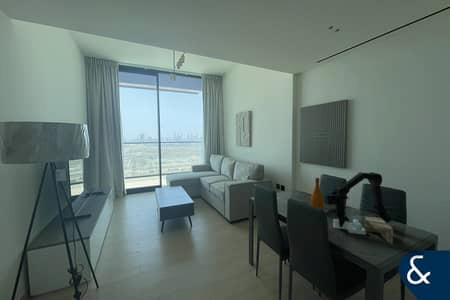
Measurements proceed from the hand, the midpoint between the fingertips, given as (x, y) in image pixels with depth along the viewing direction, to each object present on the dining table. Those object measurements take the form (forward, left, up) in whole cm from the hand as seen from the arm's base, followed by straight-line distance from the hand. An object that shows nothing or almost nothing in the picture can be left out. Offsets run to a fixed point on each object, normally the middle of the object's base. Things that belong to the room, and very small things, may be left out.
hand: (340, 225), depth 137 cm
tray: (0, +5, -2) cm, 5 cm away
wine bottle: (-29, -12, -2) cm, 31 cm away
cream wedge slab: (+8, +19, -2) cm, 21 cm away
